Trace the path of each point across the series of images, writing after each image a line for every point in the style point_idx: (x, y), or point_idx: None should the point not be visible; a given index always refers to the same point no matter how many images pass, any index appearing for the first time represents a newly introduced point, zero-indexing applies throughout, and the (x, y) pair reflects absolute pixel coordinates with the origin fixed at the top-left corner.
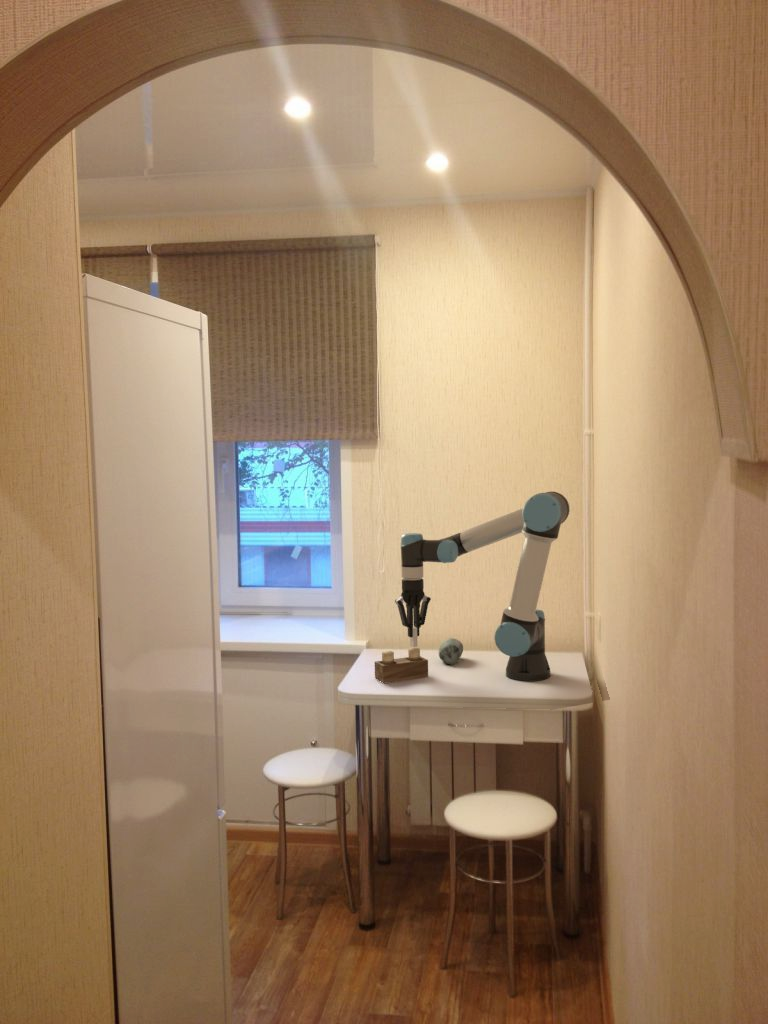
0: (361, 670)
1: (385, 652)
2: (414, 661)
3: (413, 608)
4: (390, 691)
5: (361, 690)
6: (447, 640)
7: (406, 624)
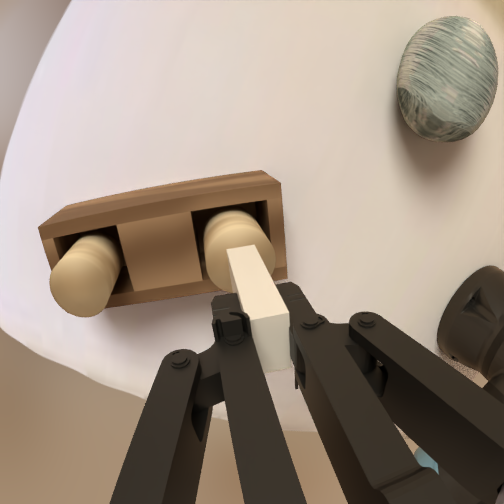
0: (51, 60)
1: (66, 286)
2: (217, 288)
3: (363, 475)
4: (102, 361)
5: (24, 323)
6: (471, 67)
7: (192, 415)
